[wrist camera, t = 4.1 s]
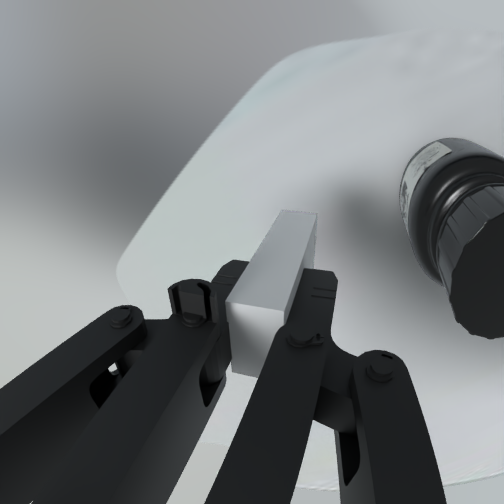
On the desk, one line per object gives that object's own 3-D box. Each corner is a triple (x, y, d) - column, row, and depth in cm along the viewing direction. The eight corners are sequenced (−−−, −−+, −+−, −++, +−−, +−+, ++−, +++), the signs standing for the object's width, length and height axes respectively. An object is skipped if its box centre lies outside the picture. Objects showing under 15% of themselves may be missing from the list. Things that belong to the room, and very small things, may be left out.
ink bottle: (396, 128, 20) (437, 161, 10) (503, 135, 17) (599, 180, 7) (396, 252, 24) (411, 363, 14) (491, 253, 21) (547, 354, 11)
